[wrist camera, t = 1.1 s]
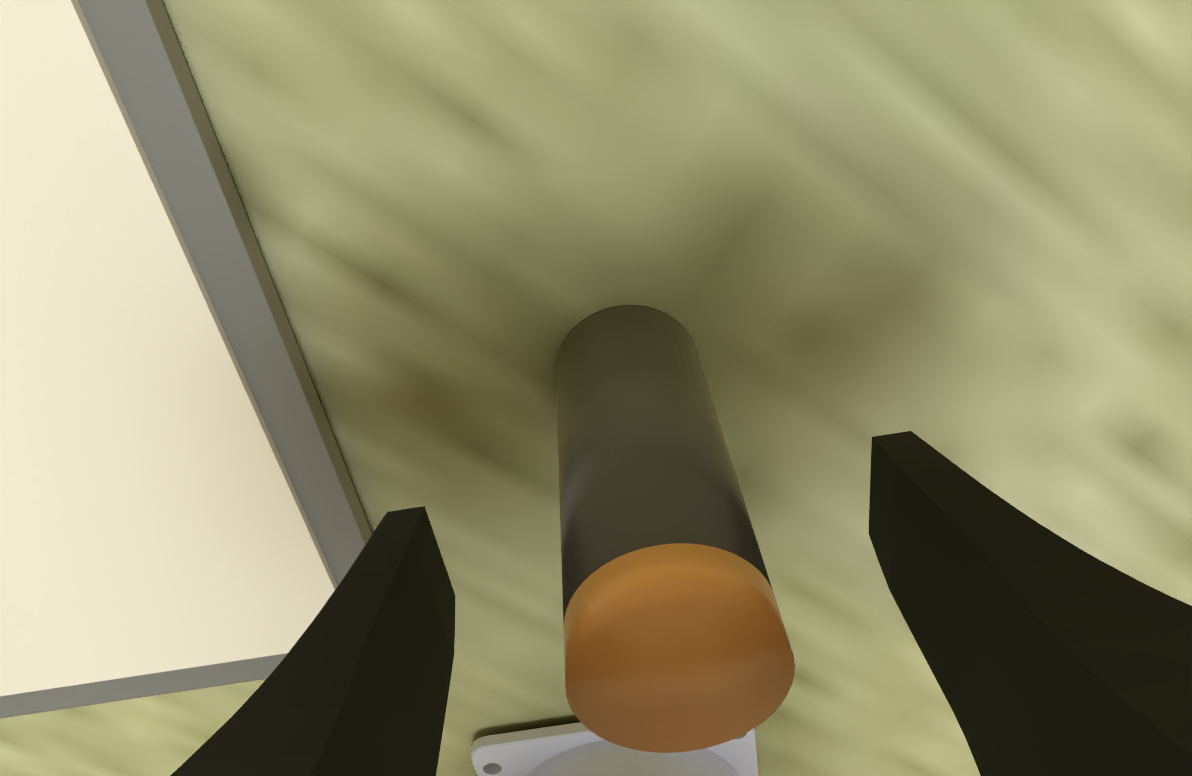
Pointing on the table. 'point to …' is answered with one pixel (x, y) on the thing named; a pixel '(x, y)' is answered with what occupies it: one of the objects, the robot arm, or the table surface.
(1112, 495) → the table surface
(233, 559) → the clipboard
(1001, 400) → the table surface
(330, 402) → the table surface
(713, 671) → the marker
